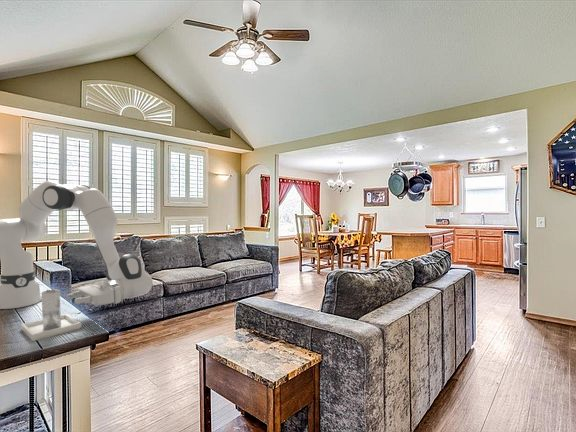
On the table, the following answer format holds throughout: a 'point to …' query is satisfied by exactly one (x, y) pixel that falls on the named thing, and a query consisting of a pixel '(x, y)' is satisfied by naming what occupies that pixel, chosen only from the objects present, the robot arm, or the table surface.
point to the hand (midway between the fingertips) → (70, 299)
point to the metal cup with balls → (51, 309)
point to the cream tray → (36, 330)
